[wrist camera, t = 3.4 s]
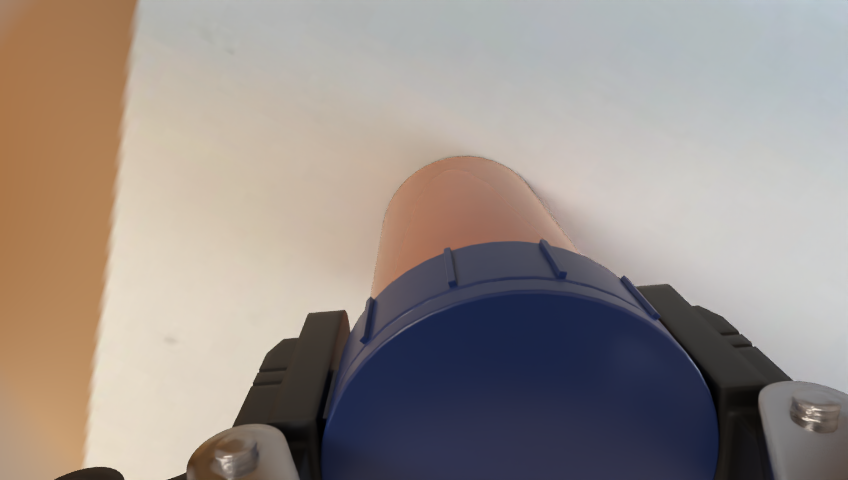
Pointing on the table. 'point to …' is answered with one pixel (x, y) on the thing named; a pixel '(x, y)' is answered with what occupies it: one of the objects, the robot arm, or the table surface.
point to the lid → (516, 377)
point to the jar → (459, 215)
